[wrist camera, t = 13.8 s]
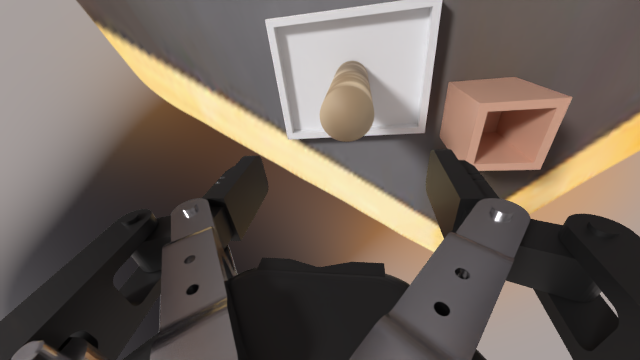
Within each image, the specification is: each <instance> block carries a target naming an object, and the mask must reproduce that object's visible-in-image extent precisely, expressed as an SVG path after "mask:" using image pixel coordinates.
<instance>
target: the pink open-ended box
mask: <svg viewBox="0 0 640 360" xmlns="http://www.w3.org/2000/svg"><path fill="white" fill-rule="evenodd" d="M571 100H572V97H570V96H567V95H564V94H561V93H559V92H556V91H553V90H550V89H547V88H545V87H542V86H539V85H536V84H533V83H531V82H528V81H525V80H522V79H519V78H517V77H507V78H494V79H482V80H470V81H457V82H449V84H448V90H447V96H446V102H445V108H444V114H443V119H442V125H441V131H440V138H441V140H442V141H443V143H444V144H445V145H446V147H447V148H448V149H451V150H452V151H453V153H454V154H455V155H456V157H457V158H458V160H465V161H467V162H469V163H470V164H472V165H474V166H475V167H476V169H477V170H478V171H495V170H540V169H541V167H542V164H543V162H544V160H545V158H546V155H547V153H548V151H549V149H550V147H551V144H552V142H553V140H554V138H555V135H556V133H557V131H558V129H559V126H560V124H561V122H562V120H563V117H564V115H565V113H566V111H567V108H568V106H569V104H570V102H571Z"/></svg>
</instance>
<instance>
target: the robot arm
mask: <svg viewBox="0 0 640 360" xmlns="http://www.w3.org/2000/svg"><path fill="white" fill-rule="evenodd" d="M426 191H427V195H428V198H429V200H430V203H431V205H432V208H433V211H434V213H435V216H436V219H437V221H438V224H439V227H440V229H441V232H442V235H443V237H444V240H443V241H442V243H441V244H440V245H439V247H438V248H437V249H436V251H435V252H434V253H433V255H432V256H431V257H430V259H429V260H428V261H427V263H426V264H425V266H424V267H423V268H422V270H421V271H420V272H419V274H418V275H417V276H416V278H415V279H414V281H413V282H412V283H411V285H409V284H408V283H406V282H404V281H402V280H400V279H399V278H396V277H394V276H391V275H388V274H385V269H384V264H383V263H365V262H349V263H343V264H337V265H331V266H325V267H315V266H312V265H309V264H305V263H302V262H299V261H295V260H291V259H280V258H262V259H261V262H260V264H259V267H257V268H253V269H250V270H247V271H244V272H242V273H240V274H238V275H237V272H236V268H235V265H234V261H233V258H232V255H231V251H230V248H229V246H228V243H229V241H230V240H231V241H232V240H233V241H241V240H242V238H243V236H244V235H245V233H246V231H247V229H248V227H249V226H250V223H251V222H252V220H253V218H254V216H255V215H256V213H257V211H258V209H259V207H260V205H261V204H262V202H263V200H264V198H265V196H266V195H267V192H268V181H267V177H266V174H265V170H264V166H263V163H262V159H261V158H260V156H244V157H242V158H241V160H240V161H239V162H238V163H237V164H236V165H235V166H234V167H232V168H230V169H229V170H227V171H226V172H225V173H224V174H223V175H222V176H221V178H220V179H219V180H218V181H217V182H216V184H214V185H213V186H212V187H211V188H210V190H209V191H208V192H207V193H206V194H205V195H204V196H203V197H202V198H200V199H199V198H198V199H192V200H189V201H187V202H184V203H182V204H181V205H179V206H178V207H176V208H175V209H174V210H173V212H172V214H171V215H170V216H166V217H161V218H155V217H154V215H153V213H152V212H151V211H150V210H148V209H141V210H136V211H133V212H130V213H128V214H126V215H124V216H122V217H121V218H119V219H118V220H117V221H115V222H114V223H113V224H112V225H111V226H110V227H109V228H107V229H106V230H105V231H104V232H103V233H102V234H100V235H99V236H98V237H97V238H96V239H95V240H93V241H92V242H91V243H90V244H89V245H88V246H87V247H85V248H84V249H83V250H82V251H81V252H80V253H78V254H77V255H76V256H75V257H74V258H73V259H72V260H70V261H69V262H68V263H67V264H66V265H65V266H64V267H62V268H61V269H60V270H59V271H58V272H57V273H55V274H54V275H53V276H52V277H51V278H50V279H49V280H47V281H46V282H45V283H44V284H43V285H42V286H40V287H39V288H38V289H37V290H36V291H35V292H33V293H32V294H31V295H30V296H29V297H28V298H27V299H26V300H24V301H23V302H22V303H21V304H20V305H18V306H17V307H16V308H15V309H14V310H13V311H12V312H11V313H9V314H8V315H7V316H6V317H5V318H4V319H2V321H0V360H116V359H117V358H118V356H119V355H120V353H121V352H122V350H123V349H124V347H125V346H126V344H127V343H128V341H129V340H130V338H131V337H132V335H133V334H134V332H135V331H136V329H137V328H138V327H139V325H140V324H141V322H142V321H143V319H144V318H145V316H146V315H147V313H148V312H149V310H150V309H151V307H152V306H153V304H154V303H155V301H156V300H157V298H158V297H159V296H160V294H161V296H160V322H159V323H160V324H159V332H158V333H157V334H156V335H154V336H153V337H152V338H150V339H149V340H148V341H146V342H145V343H144V344H142V345H141V346H140V347H139V348H137V349H136V350H135V351H133V352H132V353H131V354H129V355H128V356H127V357H126V358H124V359H123V360H486V359H485V358H484V357H483V356H482V355H481V353H479V351H477V349H476V348H477V346H478V343H479V341H480V338H481V336H482V334H483V332H484V329H485V327H486V325H487V322H488V320H489V318H490V315H491V313H492V311H493V308H494V306H495V304H496V301H497V299H498V297H499V294H500V292H501V289H502V287H503V285H504V283H505V280H506V281H510V282H513V283H517V284H520V285H523V286H527V287H530V288H533V289H534V291H535V293H536V294H537V296H538V298H539V300H540V301H541V303H542V305H543V307H544V309H545V310H546V312H547V314H548V316H549V317H550V319H551V321H552V323H553V325H554V326H555V328H556V330H557V332H558V333H559V335H560V337H561V339H562V340H563V342H564V344H565V346H566V348H567V349H568V351H569V353H570V355H571V356H572V358H573V360H640V237H639V236H638V235H637V234H635V233H634V232H633V231H632V230H630V229H629V228H627V227H625V226H623V225H622V224H620V223H617V222H615V221H613V220H610V219H607V218H604V217H600V216H596V215H591V214H574V215H571V216H569V217H568V218H567V220H566V221H565V223H564V225H558V224H553V223H548V222H543V221H537V220H534V219H530V216H529V214H528V212H527V211H526V210H525V209H523V208H522V207H521V206H519V205H517V204H515V203H513V202H510V201H507V200H503V199H500V198H499V197H498V196H497V194H496V193H495V192H494V191H493V189H492V188H491V187H490V185H489V184H488V183H487V182H486V181H485V179H484V178H483V176H482V175H480V172H479V171H478V170H477V169H476V167H475V166H474V165H472V164H470V163H469V162H467V161H465V160H458V158H457V157H456V155H455V154H454V153H453V151H452V150H451V149H441V150H432V151H431V153H430V157H429V164H428V171H427V177H426ZM130 256H132V257H133V259H134V260H135V261H136V262H137V263H138V265H139V267H138V268H137V269H136V271H135V272H134V273H133V274H132V275H131V277H130V278H129V279H128V280H127V282H125V284H124V285H123V286H122V287H121V288H120V290H119V291H118V290H117V289H116V288H115V287H114V285H113V277H114V275H115V273H116V272H117V270H118V269H119V268H120V267H121V266H122V265H123V264H124V263H125V262H126V260H127V259H128V258H129V257H130ZM601 291H602V292H603V293H604V295H605V296H606V297H607V298H608V300H609V301H610V302H611V303H612V305H613V306H614V307H615V309H616V311H617V314H618V317H619V318H618V317H617V316H616V315H615V313H614V312H613V311H612V310H611V308H610V307H609V306H608V304H607V303H606V302H605V301H604V299H603V298H602V297H601V295H600V293H601Z"/></svg>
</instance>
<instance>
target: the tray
mask: <svg viewBox="0 0 640 360" xmlns="http://www.w3.org/2000/svg"><path fill="white" fill-rule="evenodd" d="M441 7H442V0H402V1H395V2H388V3H381V4H373V5H366V6H359V7H352V8H345V9H337V10H330V11H323V12H316V13H309V14H302V15H294V16H287V17H280V18H273V19H266V20H265V22H266V27H267V32H268V38H269V43H270V48H271V53H272V58H273V64H274V69H275V74H276V79H277V84H278V90H279V95H280V100H281V105H282V110H283V116H284V121H285V126H286V131H287V136H288V139H307V138H328V137H331V136H329V135H328V134H327V133H326V132H325V131H324V129H323V127H322V125H321V122H320V109H321V106H322V103H323V101H324V99H325V96H326V94H327V92H328V90H329V87H330V85H331V83H332V80H333V78H334V76H335V74H336V71H337V69H338V68H339V67H340V66H341V65H342V64H343V63H345V62H347V61H357V62H359V63H361V64H362V65H363V66H364V67H365V68H366V70H367V73H368V79H369V84H370V90H371V96H372V101H373V107H374V121H373V124H372V126H371V128H370V130H369V131H368V132H367V133H366V134H365V135H364V136H371V135H392V134H413V133H425V127H426V119H427V112H428V104H429V97H430V89H431V82H432V74H433V67H434V60H435V52H436V45H437V37H438V30H439V22H440V15H441Z"/></svg>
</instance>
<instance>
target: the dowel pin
mask: <svg viewBox="0 0 640 360" xmlns="http://www.w3.org/2000/svg"><path fill="white" fill-rule="evenodd" d="M373 121H374V107H373V101H372V96H371V90H370V84H369V79H368V73H367V70H366V68H365V67H364V66H363V65H362V64H361V63H359V62H357V61H347V62H345V63H343V64H342V65H341V66H340V67H339V68H338V69H337V71H336V74H335V76H334V78H333V80H332V83H331V85H330V87H329V90H328V92H327V94H326V96H325V99H324V101H323V103H322V106H321V109H320V122H321V125H322V127H323V129H324V131H325V132H326V133H327V134H328V135H329V136H331V137H332V138H334V139H336V140H339V141H344V142H349V141H355V140H357V139H359V138H361V137H363V136H364V135H365V134H366V133H367V132H368V131H369V130H370V128H371V126H372V124H373Z"/></svg>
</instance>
